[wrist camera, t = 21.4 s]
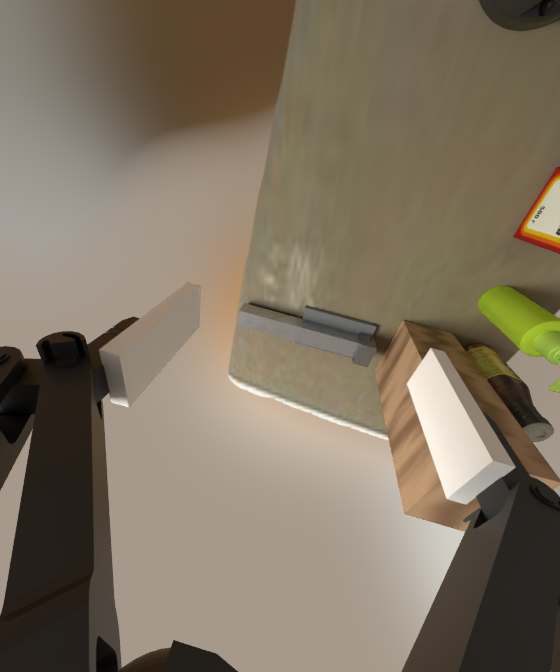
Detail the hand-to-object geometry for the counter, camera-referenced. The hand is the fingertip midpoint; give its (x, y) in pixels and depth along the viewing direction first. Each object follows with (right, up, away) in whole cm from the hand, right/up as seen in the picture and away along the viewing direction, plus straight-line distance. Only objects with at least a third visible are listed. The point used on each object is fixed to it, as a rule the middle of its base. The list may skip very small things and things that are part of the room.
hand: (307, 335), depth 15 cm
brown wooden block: (+27, -4, +41) cm, 49 cm away
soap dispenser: (+38, +6, +33) cm, 50 cm away
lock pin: (+4, +2, +41) cm, 41 cm away
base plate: (+10, +1, +42) cm, 43 cm away
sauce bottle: (+38, -4, +39) cm, 55 cm away
